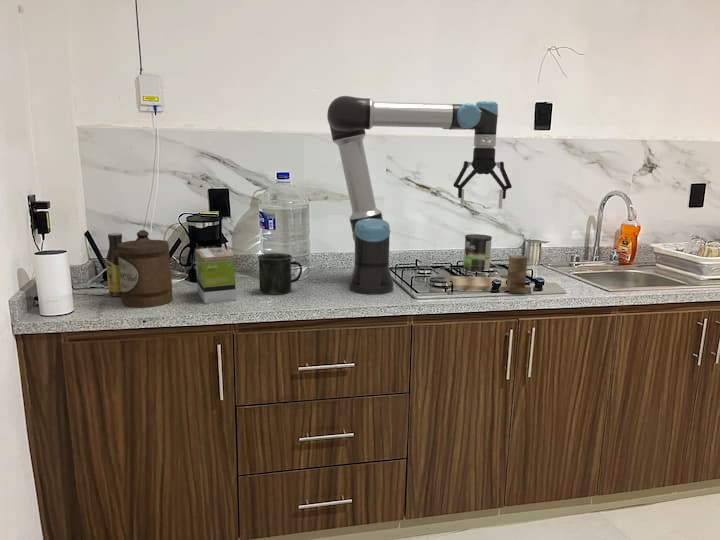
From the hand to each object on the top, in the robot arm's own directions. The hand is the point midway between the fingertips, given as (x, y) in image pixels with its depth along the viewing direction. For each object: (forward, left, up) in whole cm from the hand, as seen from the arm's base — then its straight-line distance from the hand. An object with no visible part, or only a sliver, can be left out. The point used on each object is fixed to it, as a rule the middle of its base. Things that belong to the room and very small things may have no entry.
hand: (480, 208), depth 202 cm
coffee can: (+2, +16, -27) cm, 31 cm away
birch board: (+2, -10, -27) cm, 29 cm away
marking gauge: (+11, -12, -26) cm, 31 cm away
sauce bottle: (-118, -36, -27) cm, 126 cm away
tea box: (-87, -34, -27) cm, 97 cm away
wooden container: (-106, -42, -27) cm, 117 cm away
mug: (-68, -25, -27) cm, 77 cm away
